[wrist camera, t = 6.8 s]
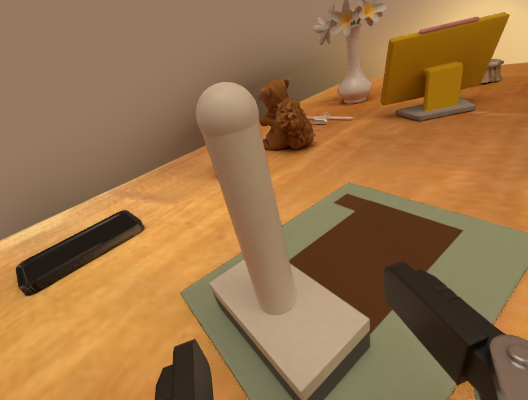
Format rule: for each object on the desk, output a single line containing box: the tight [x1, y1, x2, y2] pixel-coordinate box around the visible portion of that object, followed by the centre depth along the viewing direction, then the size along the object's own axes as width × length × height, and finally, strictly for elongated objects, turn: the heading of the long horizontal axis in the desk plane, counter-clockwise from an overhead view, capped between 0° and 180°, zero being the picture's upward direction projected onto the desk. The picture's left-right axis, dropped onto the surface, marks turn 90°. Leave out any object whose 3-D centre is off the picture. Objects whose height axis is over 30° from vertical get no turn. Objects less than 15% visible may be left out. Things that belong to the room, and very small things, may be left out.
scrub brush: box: [196, 82, 370, 400], centre depth 16 cm, size 11×6×18 cm, turn 38°
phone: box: [16, 210, 144, 295], centre depth 37 cm, size 8×1×15 cm
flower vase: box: [313, 0, 387, 104], centre depth 73 cm, size 13×18×25 cm
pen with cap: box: [307, 113, 354, 124], centre depth 66 cm, size 14×4×2 cm, turn 45°
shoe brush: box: [481, 59, 504, 83], centre depth 73 cm, size 24×8×5 cm, turn 39°
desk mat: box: [180, 183, 528, 400], centre depth 24 cm, size 20×26×1 cm
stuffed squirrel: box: [256, 78, 315, 150], centre depth 54 cm, size 10×14×13 cm
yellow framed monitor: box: [381, 12, 509, 121], centre depth 52 cm, size 20×8×16 cm, turn 90°
